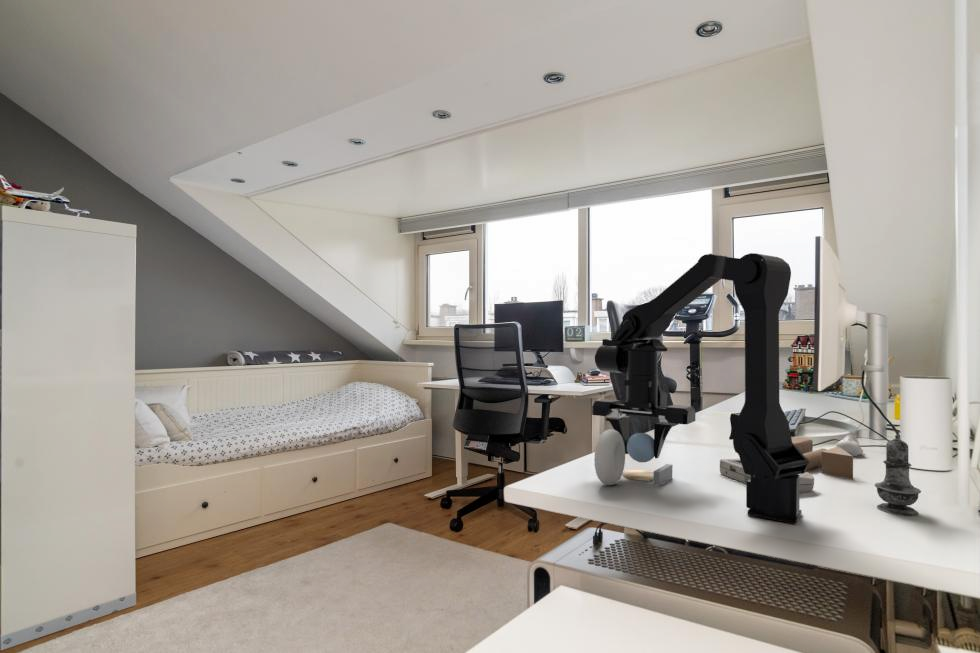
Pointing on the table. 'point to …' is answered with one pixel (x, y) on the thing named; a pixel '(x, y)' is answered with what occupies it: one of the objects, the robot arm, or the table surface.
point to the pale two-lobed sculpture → (850, 445)
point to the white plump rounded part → (609, 457)
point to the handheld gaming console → (736, 472)
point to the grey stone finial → (897, 481)
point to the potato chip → (639, 475)
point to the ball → (641, 447)
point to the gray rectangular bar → (662, 475)
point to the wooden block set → (826, 458)
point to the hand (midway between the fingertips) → (641, 455)
